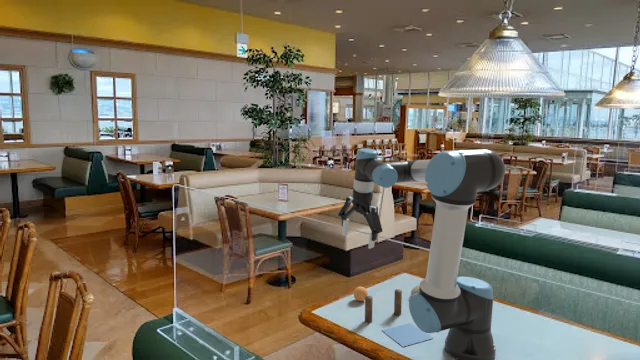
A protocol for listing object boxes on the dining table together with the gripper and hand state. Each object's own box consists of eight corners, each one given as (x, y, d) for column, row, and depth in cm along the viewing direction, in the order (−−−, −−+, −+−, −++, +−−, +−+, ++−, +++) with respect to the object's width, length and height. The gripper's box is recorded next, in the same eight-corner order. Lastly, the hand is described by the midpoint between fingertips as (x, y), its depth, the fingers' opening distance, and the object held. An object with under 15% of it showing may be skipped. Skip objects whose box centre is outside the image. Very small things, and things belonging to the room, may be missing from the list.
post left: (373, 321, 162) (373, 298, 160) (367, 323, 160) (367, 299, 159) (369, 318, 164) (369, 295, 162) (363, 320, 163) (363, 296, 161)
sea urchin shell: (407, 296, 178) (411, 278, 182) (410, 304, 184) (415, 286, 188) (430, 301, 174) (434, 282, 178) (433, 309, 180) (437, 290, 184)
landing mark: (432, 338, 150) (432, 338, 150) (403, 347, 145) (403, 346, 145) (410, 323, 160) (410, 322, 160) (381, 330, 155) (381, 330, 155)
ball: (370, 301, 178) (370, 288, 177) (357, 304, 175) (358, 291, 174) (362, 296, 183) (362, 283, 182) (350, 299, 180) (350, 285, 179)
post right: (402, 314, 167) (403, 291, 166) (396, 315, 166) (397, 292, 164) (398, 311, 169) (399, 288, 168) (392, 313, 168) (393, 290, 167)
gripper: (396, 197, 164) (389, 250, 170) (345, 178, 180) (340, 227, 187) (383, 202, 158) (376, 256, 165) (332, 182, 175) (328, 231, 182)
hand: (357, 241), depth 176 cm, fingers open, 13 cm apart
